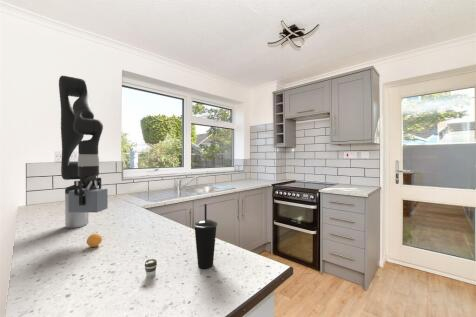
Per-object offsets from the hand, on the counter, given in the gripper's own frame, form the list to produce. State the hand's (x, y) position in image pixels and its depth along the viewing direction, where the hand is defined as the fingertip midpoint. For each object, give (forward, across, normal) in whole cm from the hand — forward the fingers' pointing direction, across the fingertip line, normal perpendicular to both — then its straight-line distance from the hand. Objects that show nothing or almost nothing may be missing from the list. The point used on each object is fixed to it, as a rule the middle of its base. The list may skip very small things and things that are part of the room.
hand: (88, 203), depth 94 cm
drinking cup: (+16, +23, +54) cm, 60 cm away
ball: (+13, +7, +7) cm, 17 cm away
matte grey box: (+3, 0, 0) cm, 3 cm away
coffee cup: (+16, +29, +38) cm, 51 cm away
